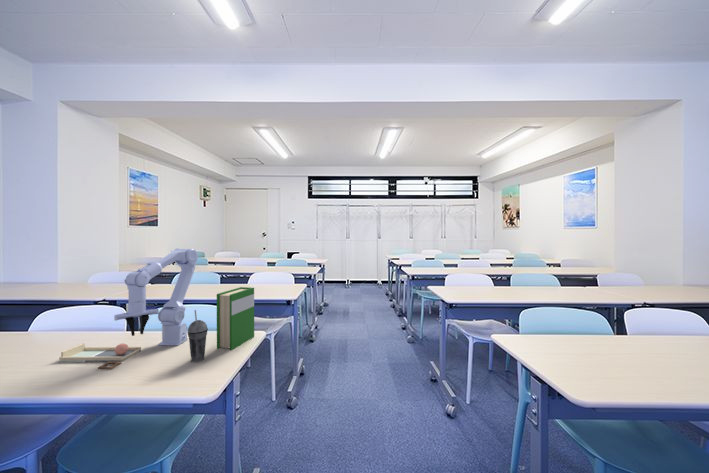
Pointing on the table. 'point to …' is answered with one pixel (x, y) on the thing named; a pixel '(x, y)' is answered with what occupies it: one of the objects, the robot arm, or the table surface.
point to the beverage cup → (197, 339)
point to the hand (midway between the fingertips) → (137, 334)
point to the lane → (95, 354)
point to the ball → (121, 349)
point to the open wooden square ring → (105, 366)
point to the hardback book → (235, 317)
